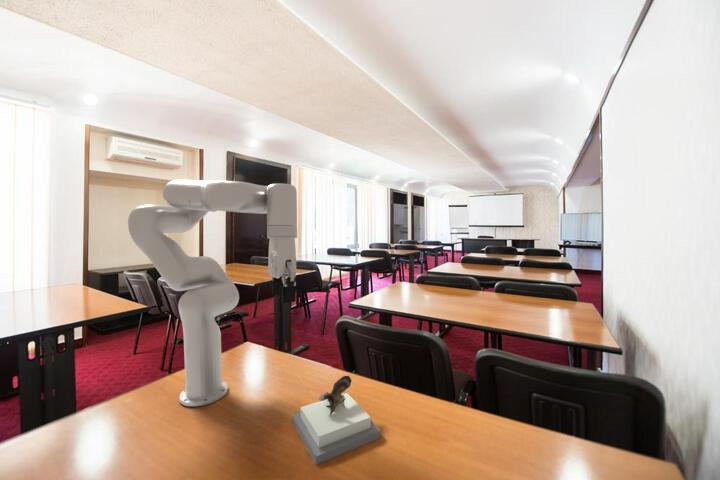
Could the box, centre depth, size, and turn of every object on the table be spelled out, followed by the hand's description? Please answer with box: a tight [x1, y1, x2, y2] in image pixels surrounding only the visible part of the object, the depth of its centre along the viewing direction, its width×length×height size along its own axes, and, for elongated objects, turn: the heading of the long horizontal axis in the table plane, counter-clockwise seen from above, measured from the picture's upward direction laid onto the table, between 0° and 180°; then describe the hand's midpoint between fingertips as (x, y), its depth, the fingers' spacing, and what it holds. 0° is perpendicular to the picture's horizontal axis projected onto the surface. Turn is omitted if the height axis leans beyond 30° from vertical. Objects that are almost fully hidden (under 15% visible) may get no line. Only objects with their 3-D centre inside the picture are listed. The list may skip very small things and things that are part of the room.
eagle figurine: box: [318, 375, 352, 415], centre depth 75 cm, size 8×7×9 cm
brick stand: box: [291, 392, 382, 465], centre depth 73 cm, size 16×16×5 cm
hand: (283, 298), depth 79 cm, fingers open, 9 cm apart
